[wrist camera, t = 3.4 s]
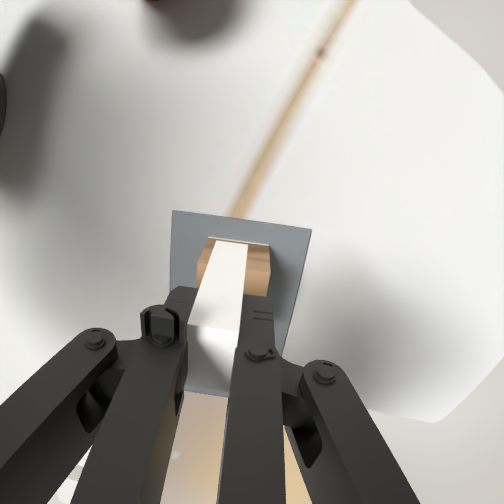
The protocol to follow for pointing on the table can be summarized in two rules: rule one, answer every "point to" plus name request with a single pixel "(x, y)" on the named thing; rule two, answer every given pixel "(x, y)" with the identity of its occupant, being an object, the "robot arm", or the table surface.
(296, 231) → the rubber mat
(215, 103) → the table surface
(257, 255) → the light wooden block
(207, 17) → the table surface
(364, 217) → the table surface
